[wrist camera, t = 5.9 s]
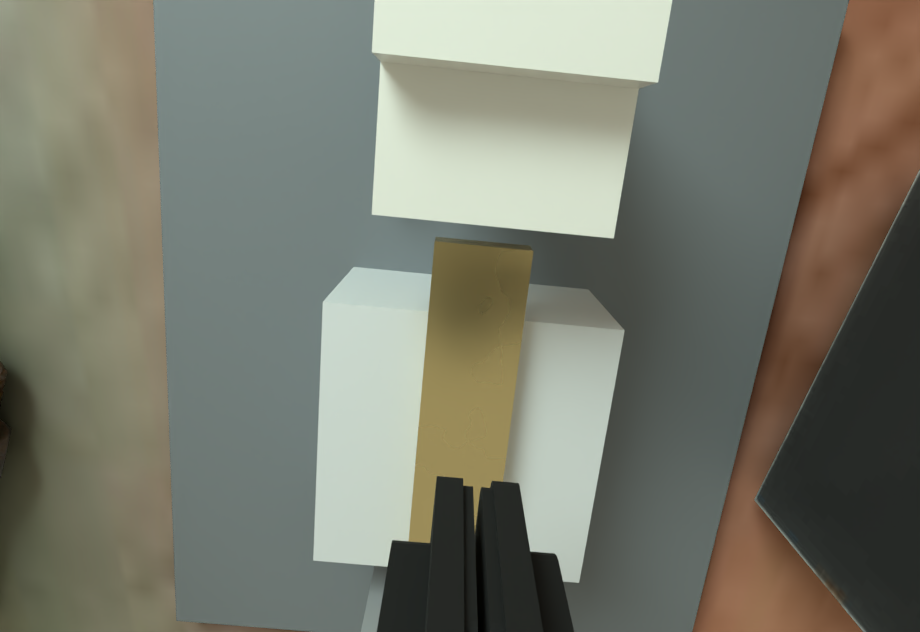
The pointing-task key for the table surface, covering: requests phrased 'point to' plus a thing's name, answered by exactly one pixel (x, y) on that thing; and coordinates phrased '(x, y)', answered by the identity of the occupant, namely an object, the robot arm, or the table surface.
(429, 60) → the block
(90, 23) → the table surface
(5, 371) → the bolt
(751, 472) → the table surface
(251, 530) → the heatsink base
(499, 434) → the wooden building block
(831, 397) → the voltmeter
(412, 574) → the robot arm
